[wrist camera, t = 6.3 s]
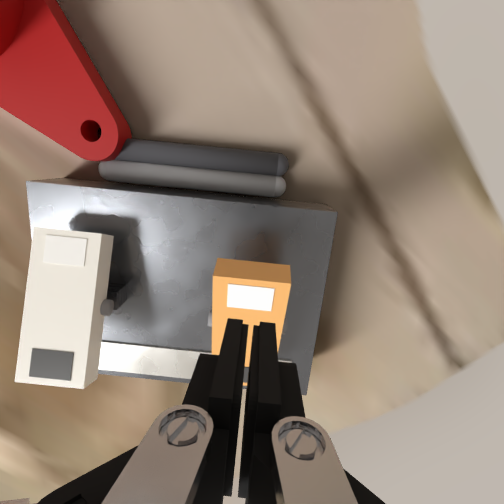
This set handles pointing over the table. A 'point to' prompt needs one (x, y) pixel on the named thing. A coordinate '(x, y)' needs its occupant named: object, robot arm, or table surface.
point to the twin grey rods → (198, 168)
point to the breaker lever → (248, 299)
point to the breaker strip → (188, 266)
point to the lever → (56, 81)
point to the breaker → (64, 308)
